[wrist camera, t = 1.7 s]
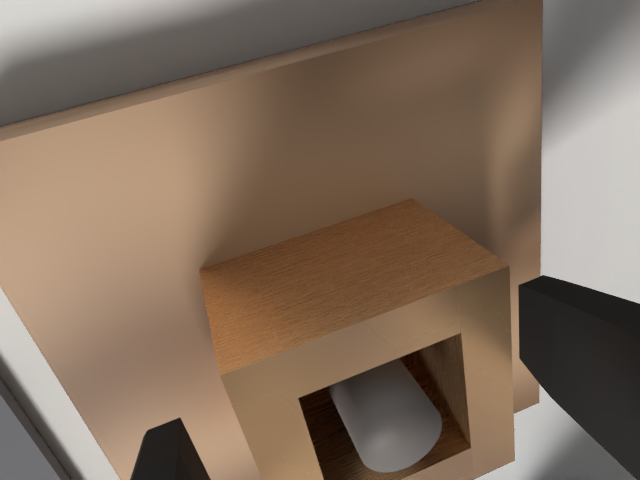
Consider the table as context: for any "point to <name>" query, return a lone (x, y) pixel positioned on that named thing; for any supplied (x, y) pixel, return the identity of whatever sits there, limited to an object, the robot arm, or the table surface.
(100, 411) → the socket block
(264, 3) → the table surface
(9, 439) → the mat
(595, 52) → the table surface
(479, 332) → the collar
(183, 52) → the table surface
